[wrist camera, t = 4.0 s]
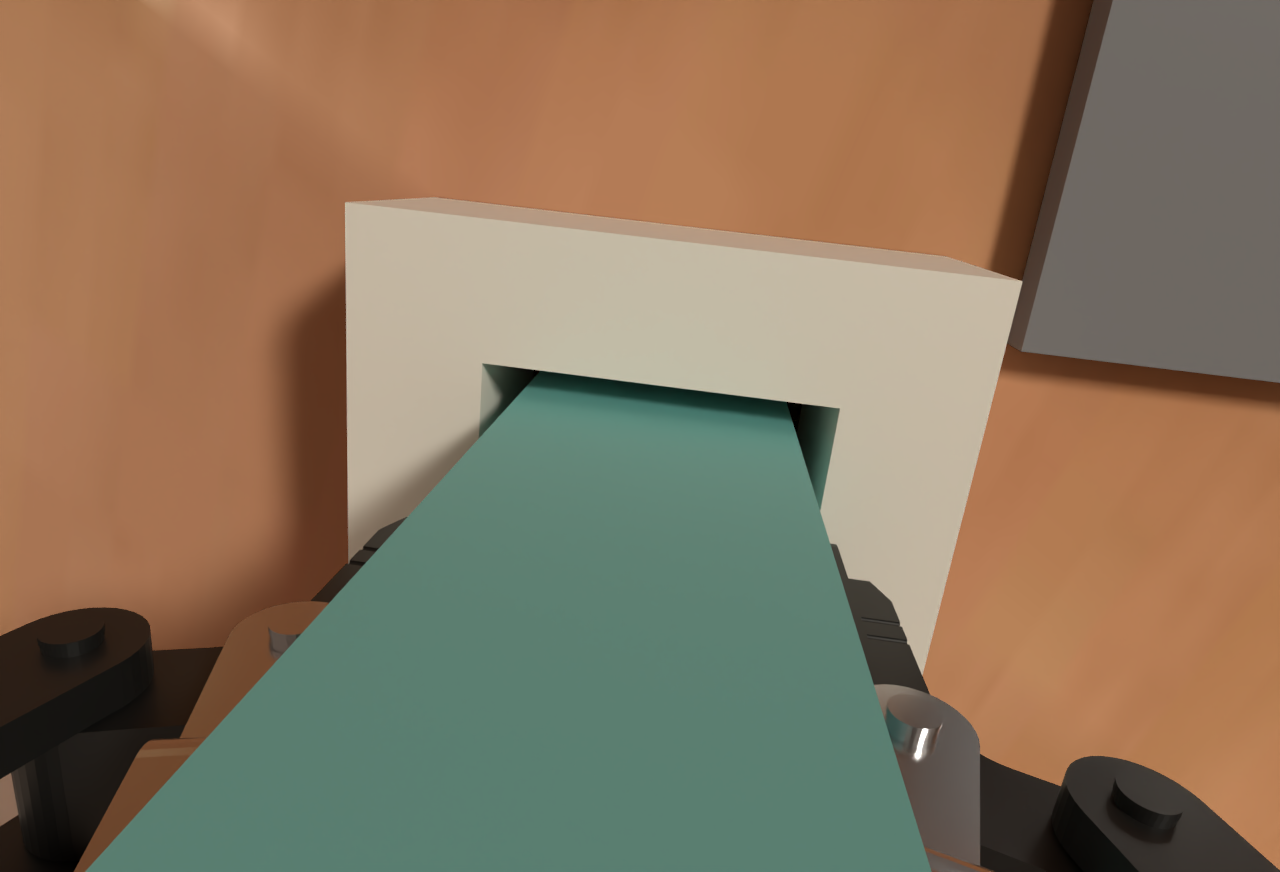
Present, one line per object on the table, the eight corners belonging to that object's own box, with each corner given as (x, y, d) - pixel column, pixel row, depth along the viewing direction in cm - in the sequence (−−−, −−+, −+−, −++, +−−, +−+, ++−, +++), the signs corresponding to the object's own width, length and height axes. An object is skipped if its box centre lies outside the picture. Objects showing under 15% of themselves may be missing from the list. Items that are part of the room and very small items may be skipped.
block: (560, 349, 16) (42, 919, 4) (778, 377, 16) (998, 1081, 3) (544, 545, 17) (131, 1431, 5) (745, 573, 17) (817, 1573, 5)
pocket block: (434, 197, 16) (345, 201, 12) (946, 256, 15) (1022, 280, 11) (423, 635, 19) (349, 750, 15) (847, 697, 18) (882, 832, 15)
